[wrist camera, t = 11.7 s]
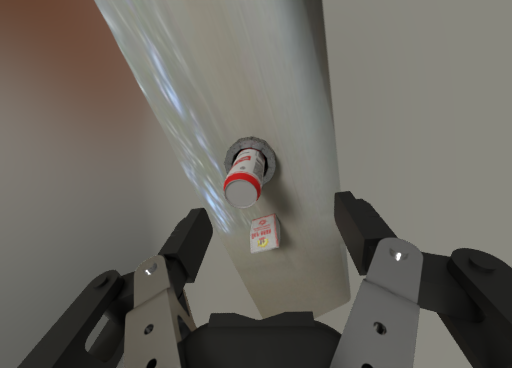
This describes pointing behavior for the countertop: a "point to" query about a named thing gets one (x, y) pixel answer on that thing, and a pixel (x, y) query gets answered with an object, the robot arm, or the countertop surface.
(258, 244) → the white printed box
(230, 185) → the beer can
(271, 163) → the collar
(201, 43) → the countertop surface
